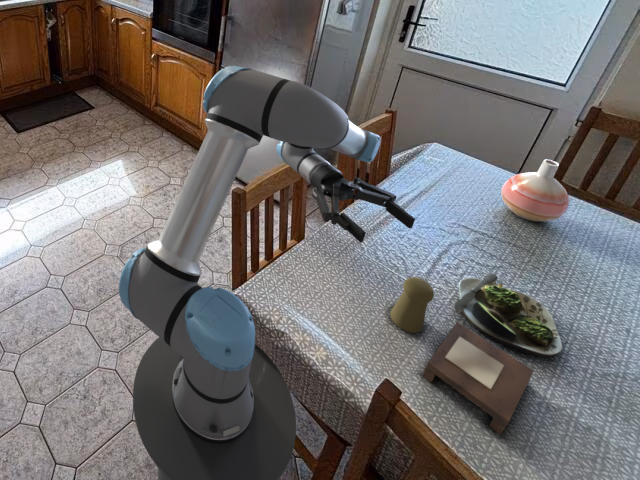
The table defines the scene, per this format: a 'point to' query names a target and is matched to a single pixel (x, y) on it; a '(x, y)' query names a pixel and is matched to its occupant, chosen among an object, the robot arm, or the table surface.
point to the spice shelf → (480, 373)
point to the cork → (412, 305)
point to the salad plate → (508, 316)
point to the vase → (536, 194)
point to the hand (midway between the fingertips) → (388, 230)
